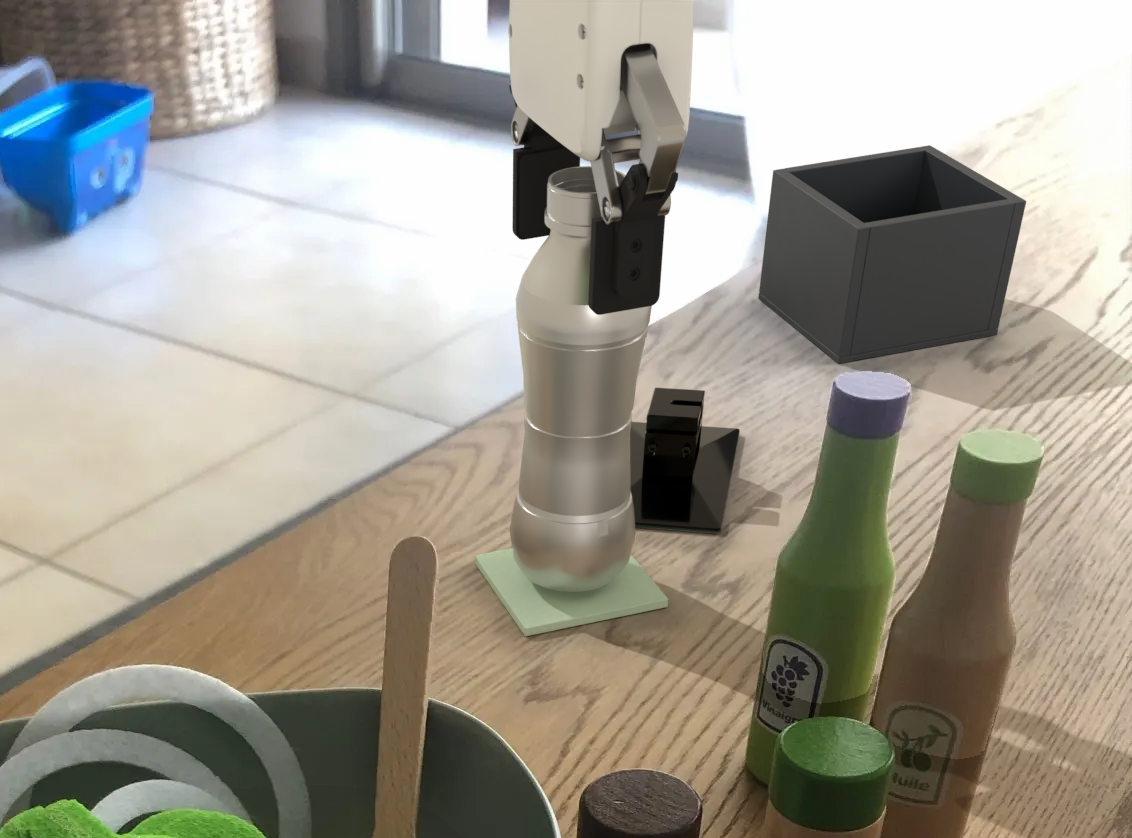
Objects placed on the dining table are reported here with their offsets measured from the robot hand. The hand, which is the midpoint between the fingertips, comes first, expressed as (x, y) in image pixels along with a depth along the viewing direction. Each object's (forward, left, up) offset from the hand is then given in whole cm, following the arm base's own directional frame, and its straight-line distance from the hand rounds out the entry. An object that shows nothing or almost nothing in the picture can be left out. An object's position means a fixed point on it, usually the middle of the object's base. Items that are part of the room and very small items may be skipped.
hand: (582, 269), depth 76 cm
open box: (-32, -25, -17) cm, 44 cm away
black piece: (-10, -9, -17) cm, 22 cm away
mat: (0, 0, -17) cm, 17 cm away
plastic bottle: (0, 0, -16) cm, 16 cm away
